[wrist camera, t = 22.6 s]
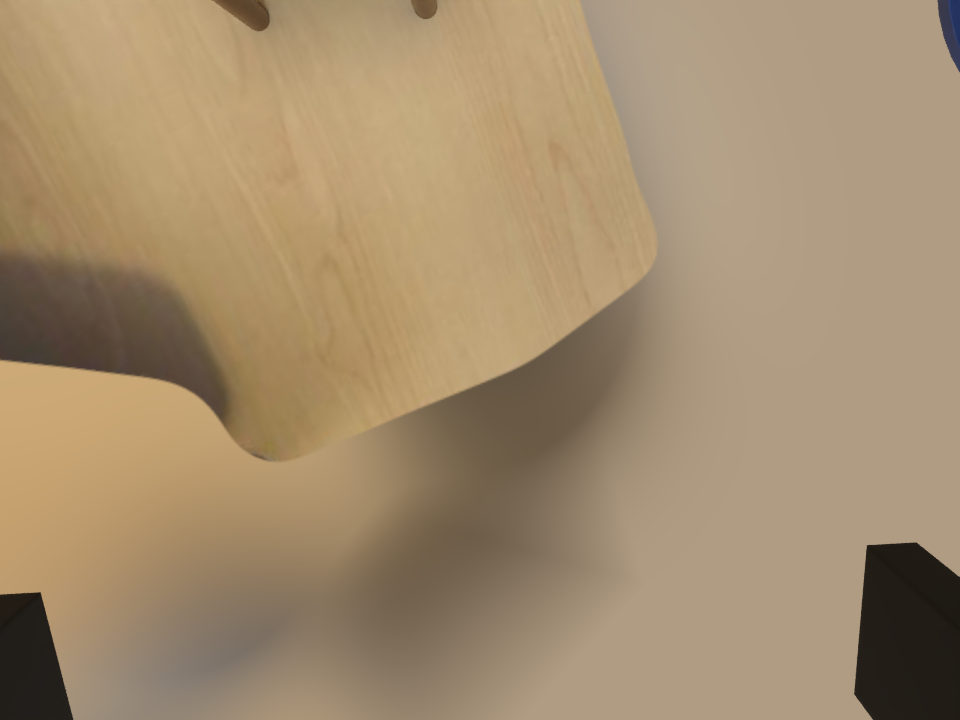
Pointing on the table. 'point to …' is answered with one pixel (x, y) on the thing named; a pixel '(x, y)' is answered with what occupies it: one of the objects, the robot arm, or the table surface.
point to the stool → (256, 17)
